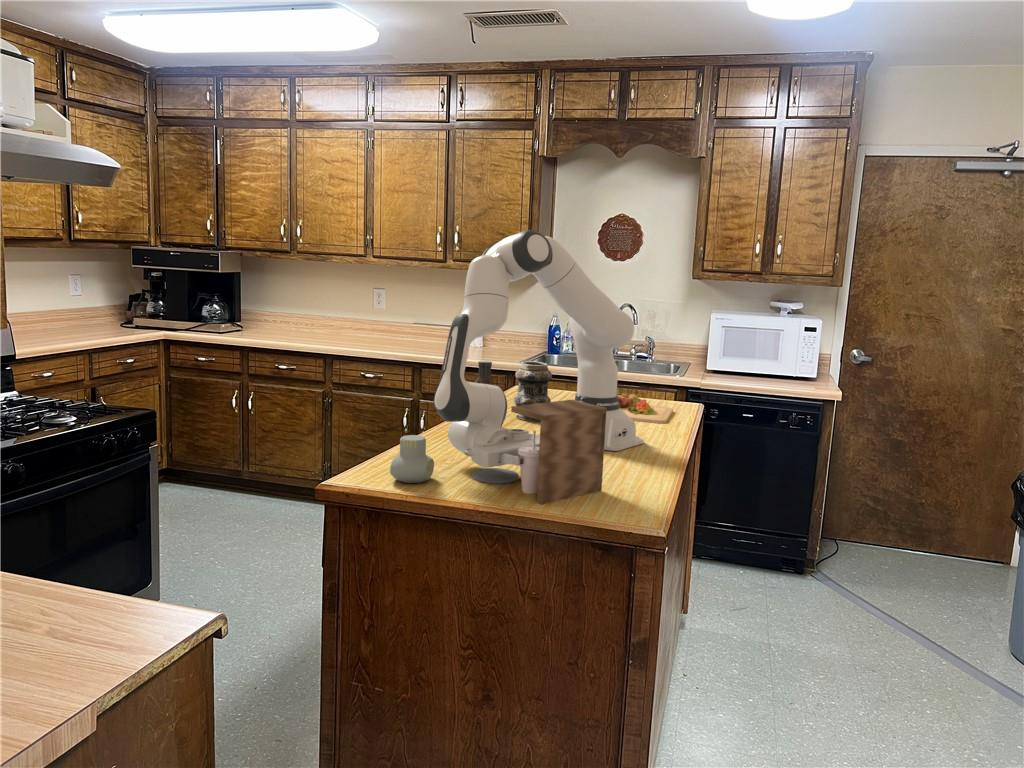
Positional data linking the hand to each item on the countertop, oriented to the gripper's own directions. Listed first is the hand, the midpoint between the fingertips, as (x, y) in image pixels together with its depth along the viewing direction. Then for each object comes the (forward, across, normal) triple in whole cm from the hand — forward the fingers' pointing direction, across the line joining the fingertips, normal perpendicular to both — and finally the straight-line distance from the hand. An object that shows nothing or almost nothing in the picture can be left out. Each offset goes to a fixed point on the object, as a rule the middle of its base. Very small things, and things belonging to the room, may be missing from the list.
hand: (534, 459), depth 174 cm
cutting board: (-55, +84, +8) cm, 101 cm away
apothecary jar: (-62, +51, +8) cm, 81 cm away
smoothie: (-1, 0, +8) cm, 8 cm away
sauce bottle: (-60, +30, +8) cm, 67 cm away
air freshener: (-22, -18, +8) cm, 29 cm away
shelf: (+2, +5, +8) cm, 9 cm away
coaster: (-14, 0, +8) cm, 16 cm away
